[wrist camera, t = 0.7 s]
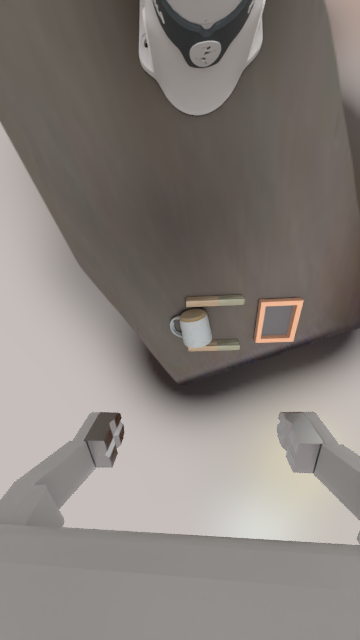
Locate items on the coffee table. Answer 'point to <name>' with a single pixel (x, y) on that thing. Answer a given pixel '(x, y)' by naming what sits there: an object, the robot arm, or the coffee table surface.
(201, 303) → the channel walls
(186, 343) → the ceramic mug
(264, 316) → the frame
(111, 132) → the coffee table surface
